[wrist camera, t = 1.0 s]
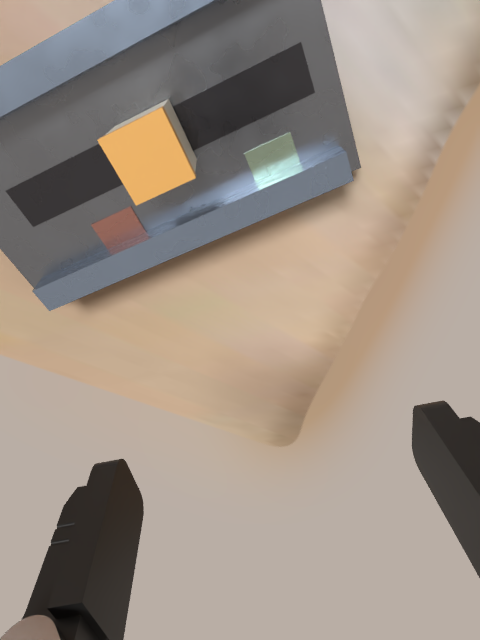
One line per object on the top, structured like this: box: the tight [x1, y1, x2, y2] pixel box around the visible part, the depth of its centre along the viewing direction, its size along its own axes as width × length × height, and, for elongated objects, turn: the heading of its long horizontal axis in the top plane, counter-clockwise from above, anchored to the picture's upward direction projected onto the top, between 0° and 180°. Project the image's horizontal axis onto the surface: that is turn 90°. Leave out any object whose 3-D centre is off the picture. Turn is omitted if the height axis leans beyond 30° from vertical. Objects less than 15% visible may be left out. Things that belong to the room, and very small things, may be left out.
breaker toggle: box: [97, 99, 197, 206], centre depth 22 cm, size 4×4×4 cm
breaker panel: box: [0, 0, 361, 311], centre depth 24 cm, size 13×24×4 cm, turn 113°
